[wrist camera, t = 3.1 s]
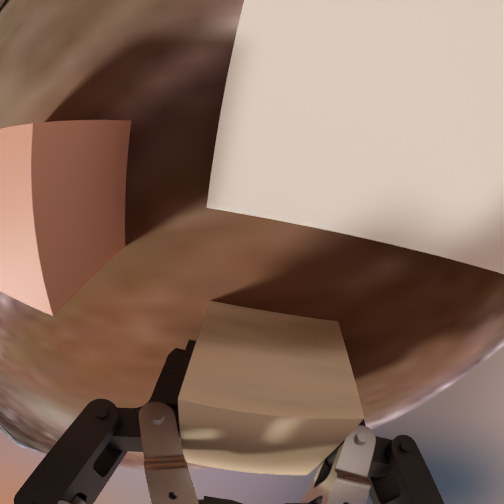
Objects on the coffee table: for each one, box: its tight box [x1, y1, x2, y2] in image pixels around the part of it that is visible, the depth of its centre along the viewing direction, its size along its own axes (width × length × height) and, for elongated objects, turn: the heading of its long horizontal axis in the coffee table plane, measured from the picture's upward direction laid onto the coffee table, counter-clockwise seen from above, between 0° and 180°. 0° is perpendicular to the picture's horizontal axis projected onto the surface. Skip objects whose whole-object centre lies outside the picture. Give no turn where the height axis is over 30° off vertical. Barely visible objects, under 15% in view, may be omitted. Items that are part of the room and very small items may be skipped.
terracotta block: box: [0, 120, 131, 316], centre depth 7 cm, size 5×5×5 cm
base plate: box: [207, 0, 504, 274], centre depth 6 cm, size 16×16×1 cm
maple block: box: [178, 301, 364, 475], centre depth 10 cm, size 6×6×5 cm
